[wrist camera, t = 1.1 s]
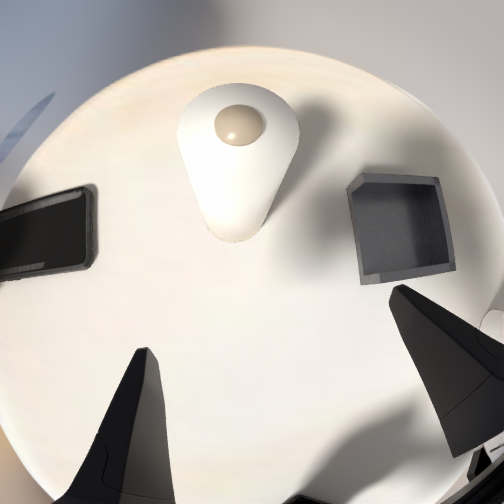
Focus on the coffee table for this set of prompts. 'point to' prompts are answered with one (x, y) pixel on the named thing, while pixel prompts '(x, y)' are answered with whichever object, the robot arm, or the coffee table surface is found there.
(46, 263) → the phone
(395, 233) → the tray
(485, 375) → the robot arm
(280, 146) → the paper roll
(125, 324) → the coffee table surface
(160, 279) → the coffee table surface
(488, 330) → the cosmetic bottle
